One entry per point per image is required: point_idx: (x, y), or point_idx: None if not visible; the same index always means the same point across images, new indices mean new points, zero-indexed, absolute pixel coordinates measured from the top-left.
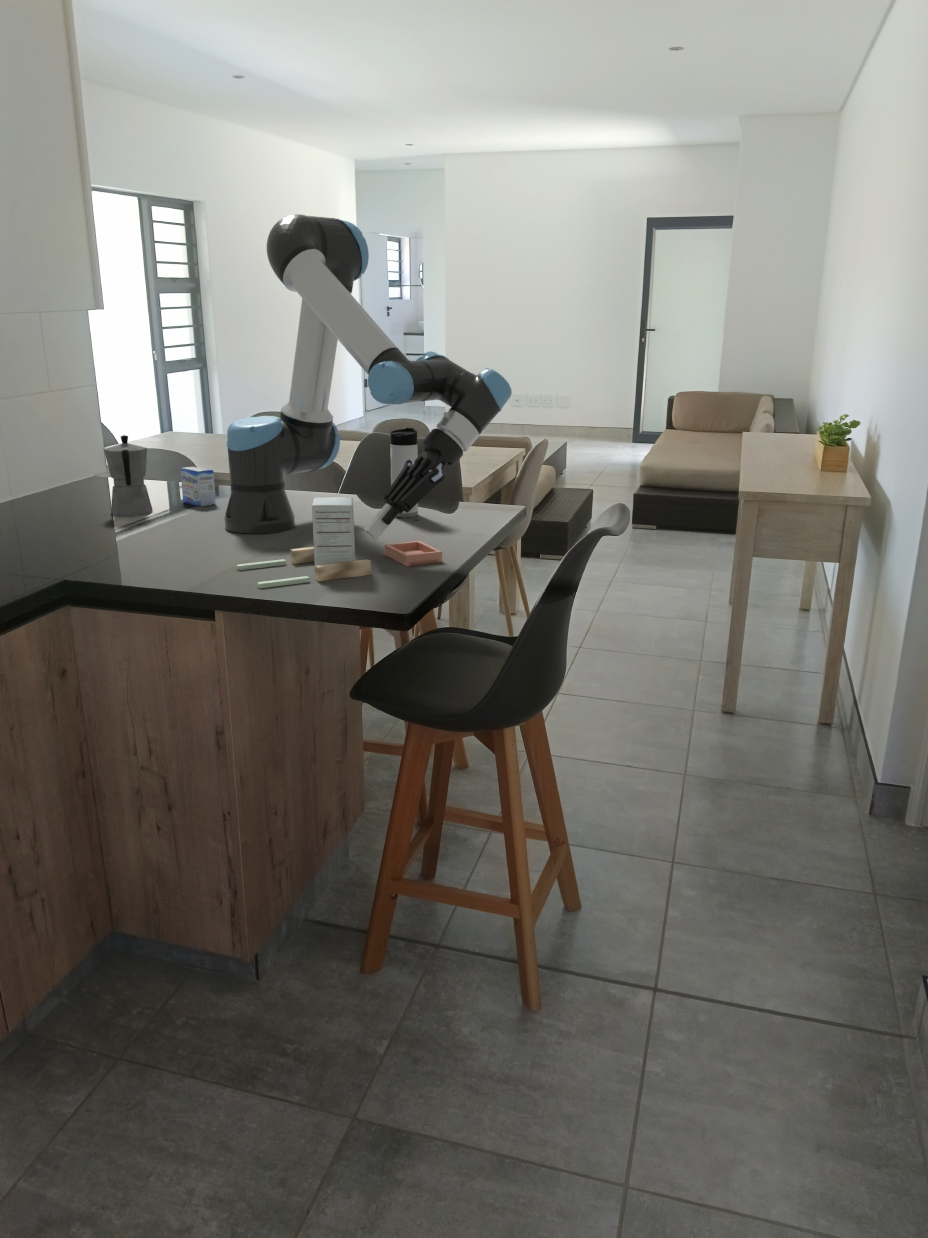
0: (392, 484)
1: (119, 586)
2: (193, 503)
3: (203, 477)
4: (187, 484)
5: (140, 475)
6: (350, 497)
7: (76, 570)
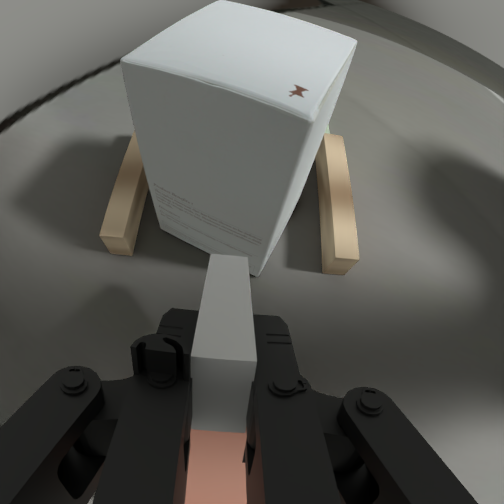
0: (460, 490)
1: (288, 9)
2: None
3: None
4: None
5: None
6: (309, 109)
7: (369, 18)
